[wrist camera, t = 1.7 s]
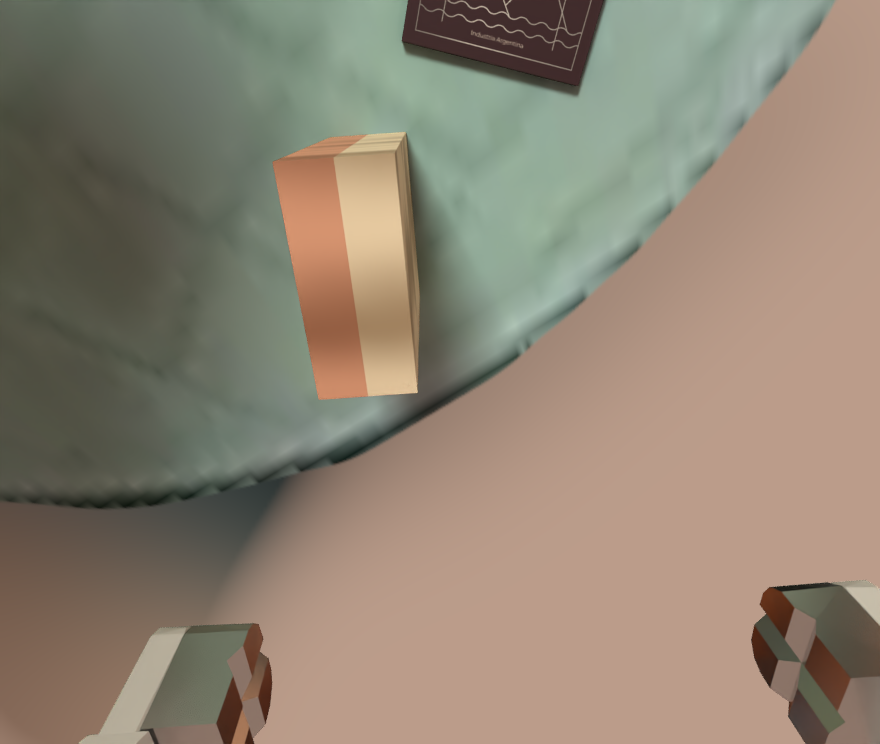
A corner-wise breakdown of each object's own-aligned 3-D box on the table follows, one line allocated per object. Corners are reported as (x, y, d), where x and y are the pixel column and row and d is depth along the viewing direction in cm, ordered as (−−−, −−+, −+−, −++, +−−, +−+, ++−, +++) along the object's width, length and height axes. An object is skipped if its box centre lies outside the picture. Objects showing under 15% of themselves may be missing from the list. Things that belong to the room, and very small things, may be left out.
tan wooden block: (329, 137, 28) (272, 162, 17) (405, 131, 28) (394, 153, 17) (353, 299, 32) (318, 399, 22) (419, 294, 32) (417, 392, 22)
